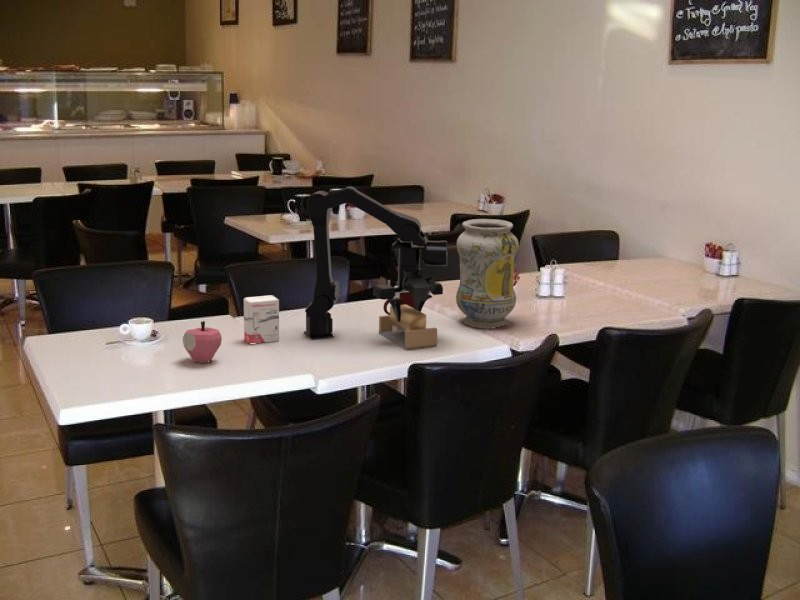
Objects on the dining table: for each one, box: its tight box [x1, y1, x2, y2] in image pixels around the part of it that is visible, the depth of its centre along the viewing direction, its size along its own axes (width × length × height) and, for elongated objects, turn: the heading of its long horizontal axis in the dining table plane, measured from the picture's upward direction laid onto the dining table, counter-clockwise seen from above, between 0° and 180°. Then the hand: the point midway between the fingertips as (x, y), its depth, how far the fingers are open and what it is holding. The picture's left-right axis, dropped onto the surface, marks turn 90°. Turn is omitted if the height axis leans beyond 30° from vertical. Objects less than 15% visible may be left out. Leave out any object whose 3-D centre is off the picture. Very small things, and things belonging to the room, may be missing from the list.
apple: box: [182, 320, 223, 363], centre depth 223 cm, size 10×9×10 cm
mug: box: [383, 290, 414, 315], centre depth 262 cm, size 11×8×10 cm
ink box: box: [243, 294, 280, 344], centre depth 242 cm, size 9×5×12 cm, turn 118°
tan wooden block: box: [389, 305, 427, 331], centre depth 245 cm, size 5×12×4 cm, turn 27°
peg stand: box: [378, 314, 438, 351], centre depth 246 cm, size 9×17×5 cm, turn 26°
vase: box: [455, 218, 520, 330], centre depth 262 cm, size 18×18×30 cm
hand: (407, 320), depth 246 cm, fingers closed on tan wooden block, 5 cm apart
